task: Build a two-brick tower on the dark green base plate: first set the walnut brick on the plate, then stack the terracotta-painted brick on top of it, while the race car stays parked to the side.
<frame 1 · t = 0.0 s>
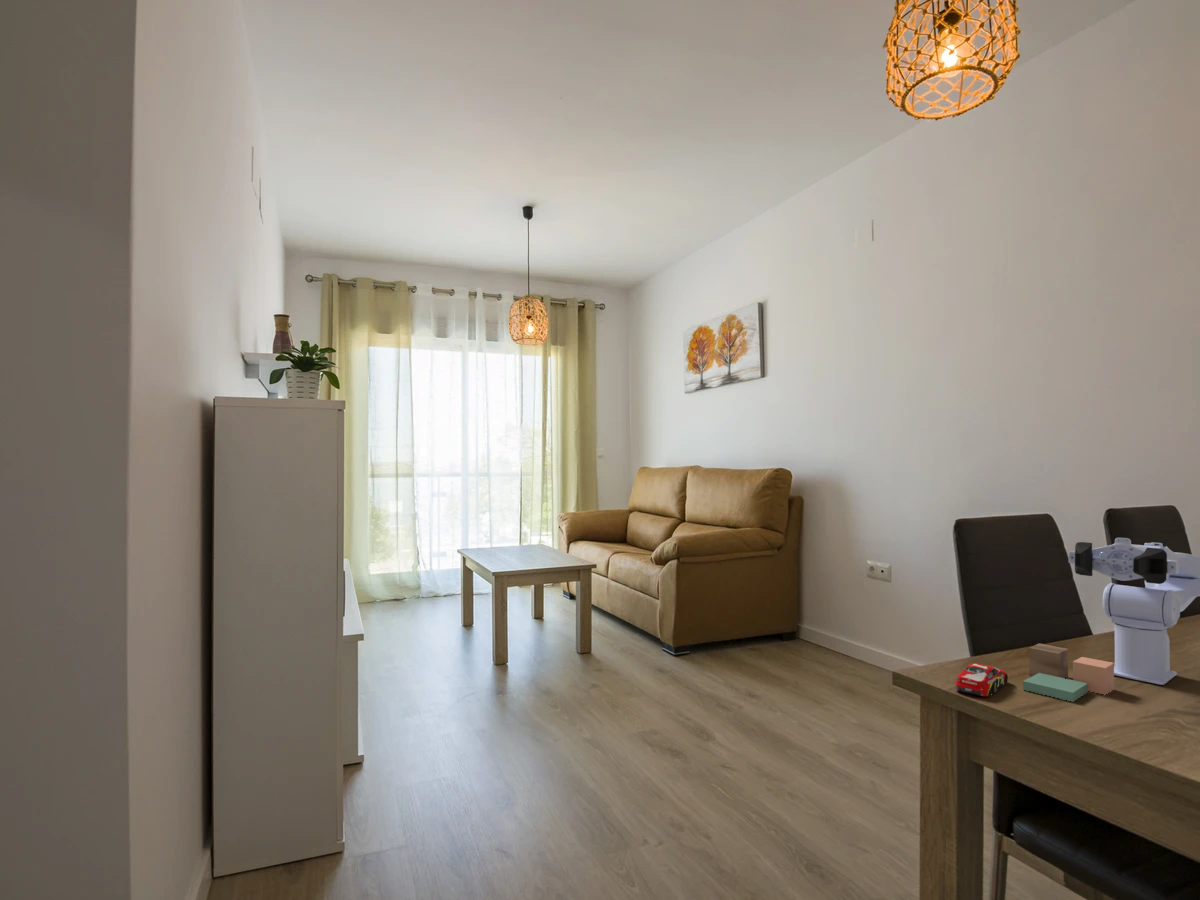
hand: (1105, 562, 108), 22 cm above the table, tool horizontal, fingers open, 7 cm apart
terracotta brick: (1093, 689, 113), on the table
walnut brick: (1048, 676, 119), on the table
base plate: (1055, 691, 111), on the table
race car: (982, 689, 114), on the table
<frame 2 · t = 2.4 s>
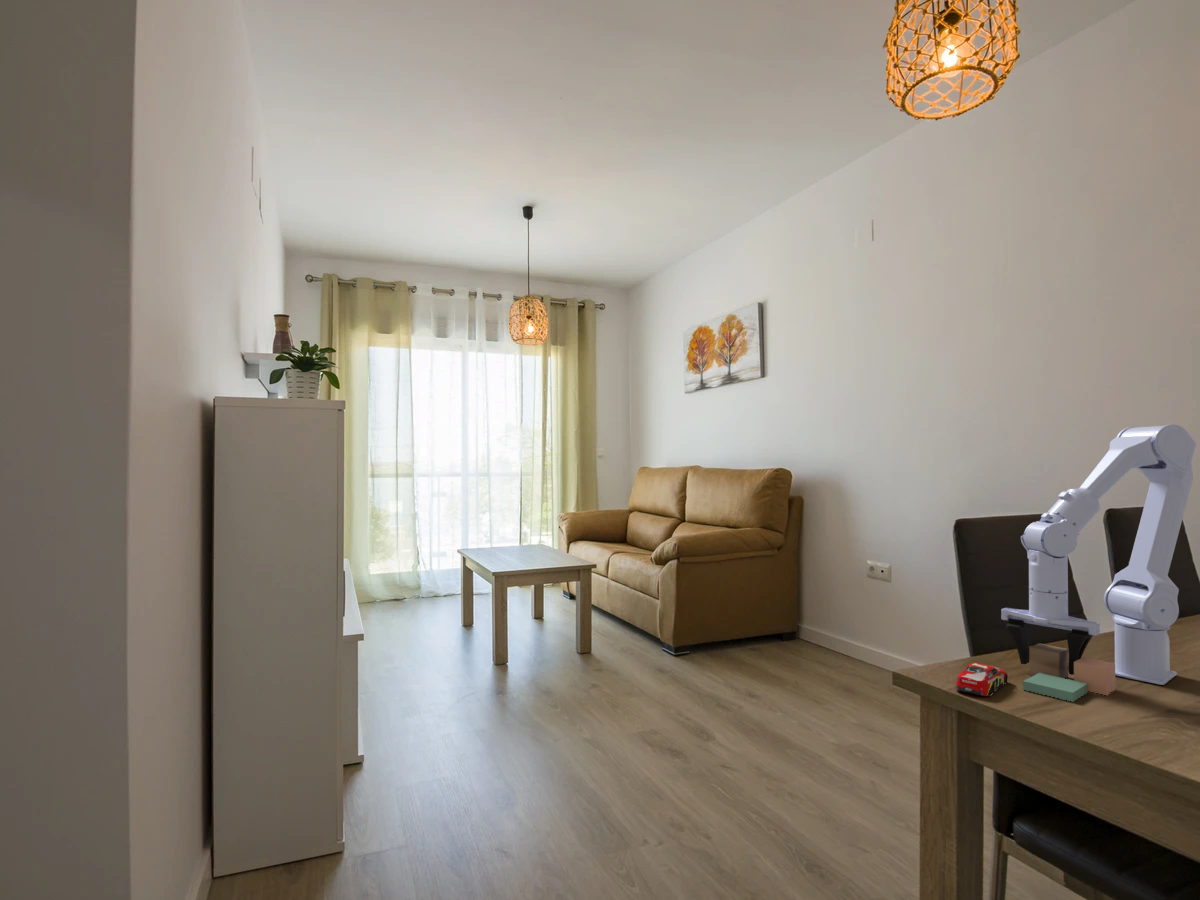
hand: (1048, 668, 119), 1 cm above the table, tool pointing down, fingers open, 7 cm apart
terracotta brick: (1094, 689, 113), on the table, touching gripper
everything else where it was.
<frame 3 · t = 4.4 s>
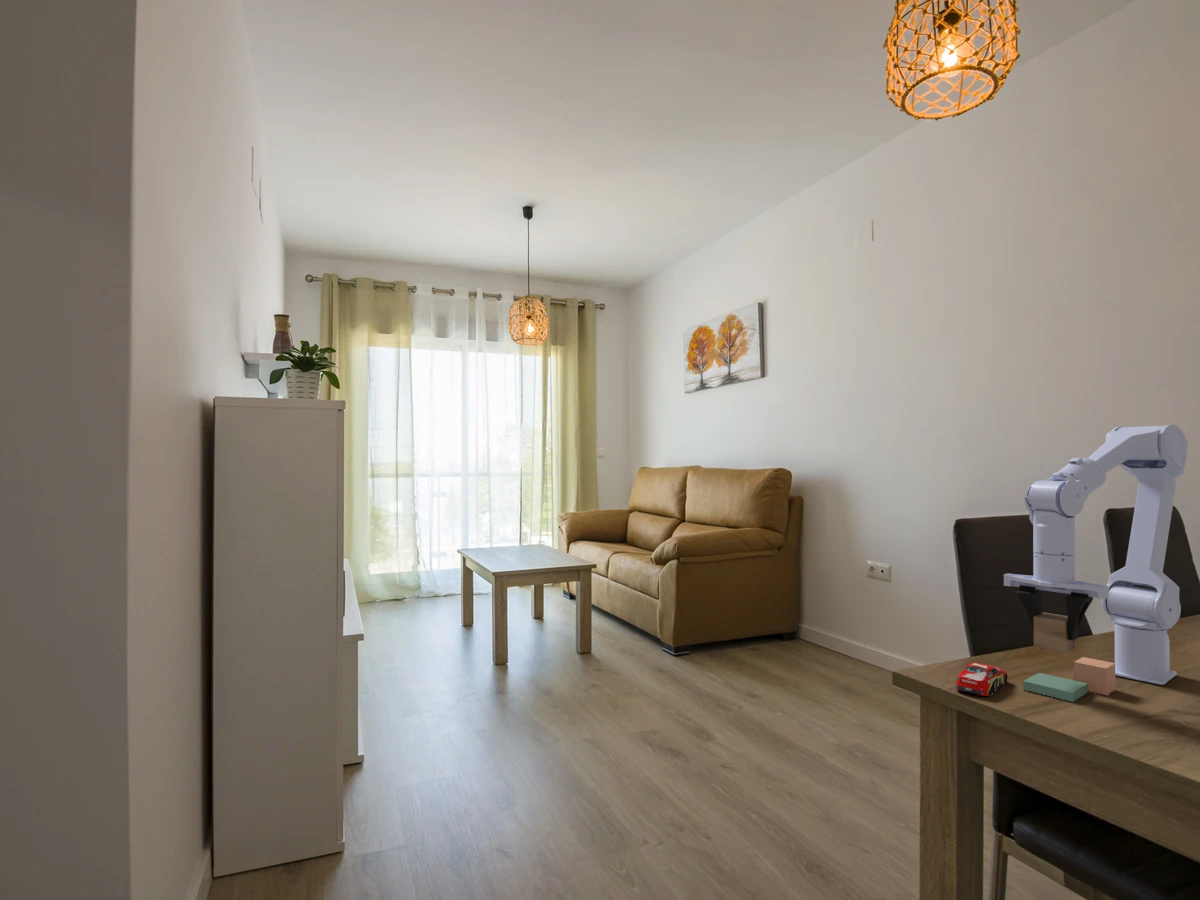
hand: (1054, 635, 112), 9 cm above the table, tool pointing down, fingers closed on walnut brick, 4 cm apart
terracotta brick: (1094, 689, 113), on the table
walnut brick: (1054, 647, 112), point 7 cm above the table, touching gripper
everything else where it was.
when the fingers open (4 cm above the table, at t = 5.8 s): walnut brick stays where it is, resting on base plate.
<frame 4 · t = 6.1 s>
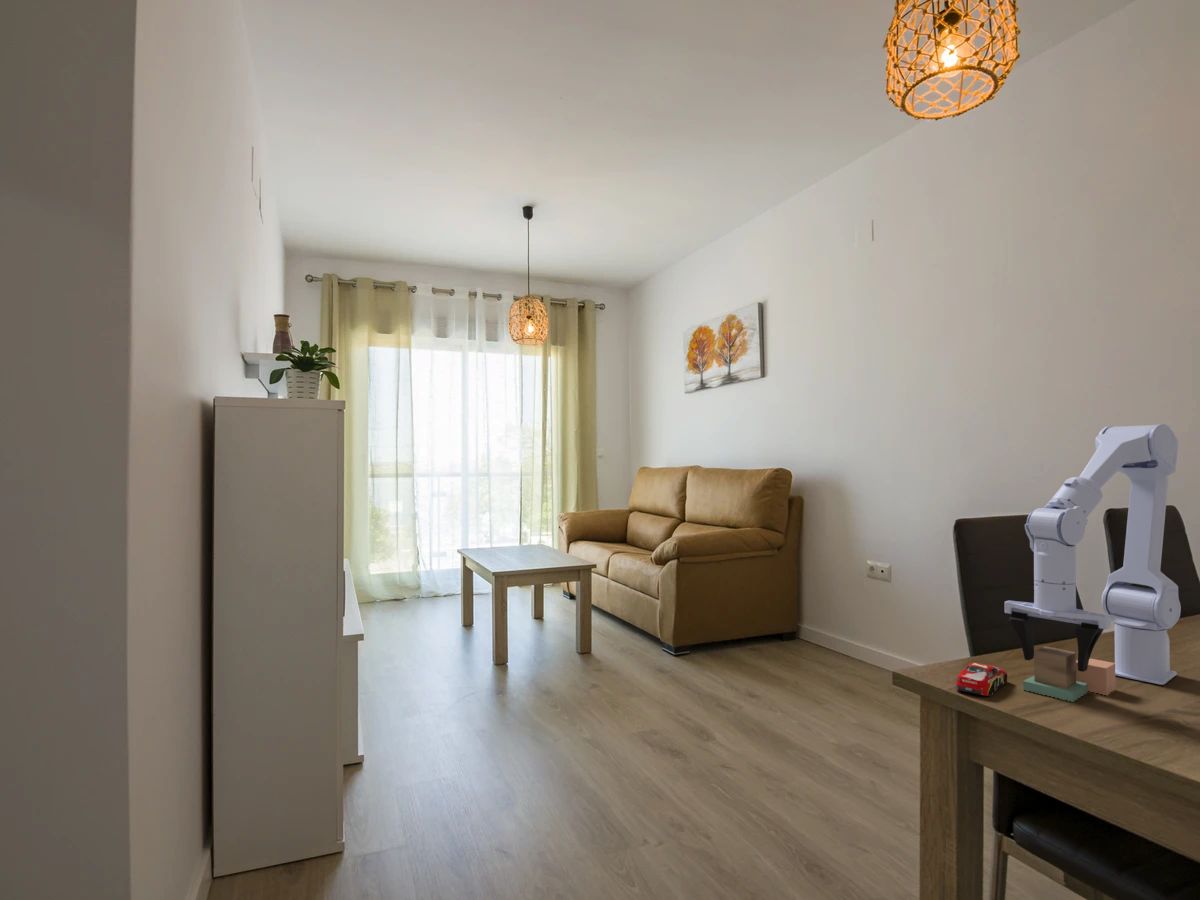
hand: (1055, 664, 111), 4 cm above the table, tool pointing down, fingers open, 7 cm apart
walnut brick: (1055, 682, 111), point 1 cm above the table, touching base plate
everything else where it was.
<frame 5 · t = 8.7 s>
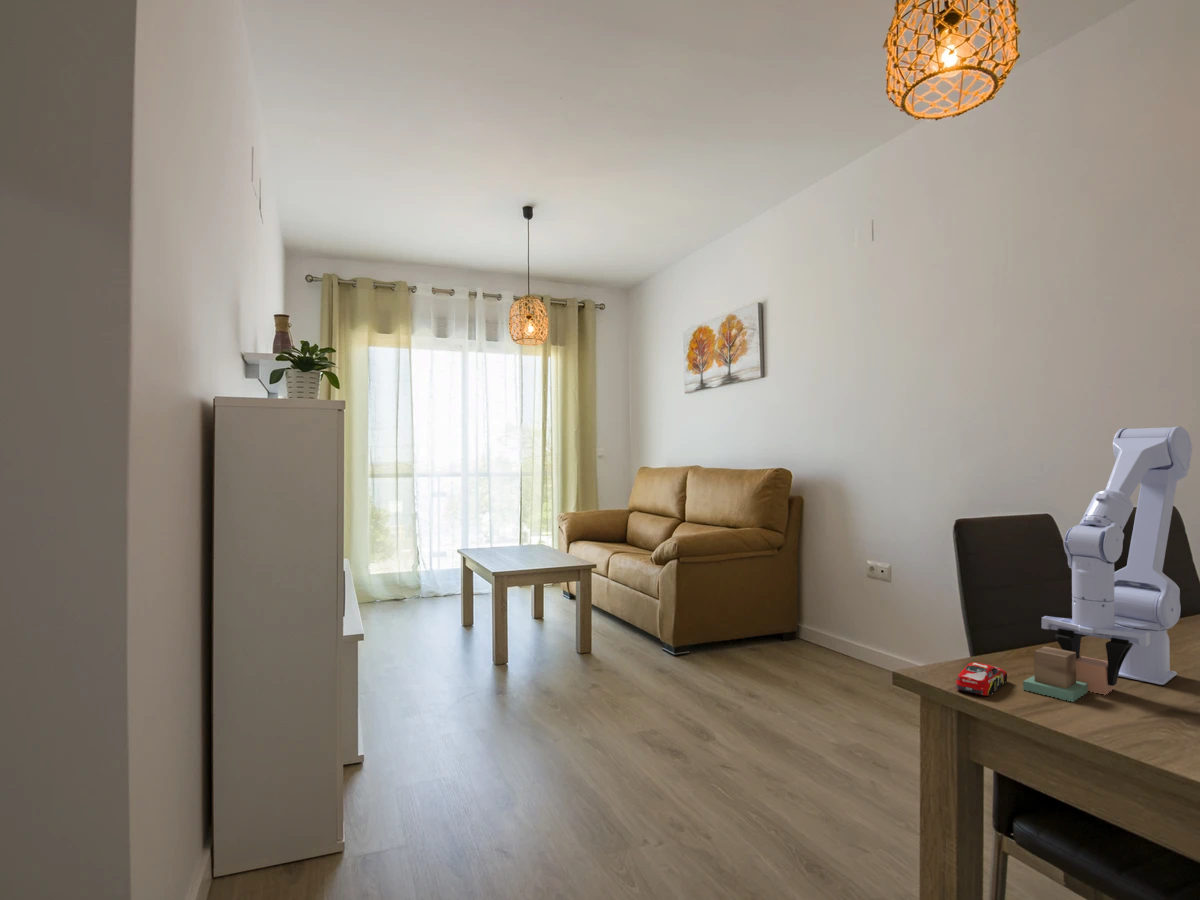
hand: (1093, 680, 113), 1 cm above the table, tool pointing down, fingers closed on terracotta brick, 4 cm apart
terracotta brick: (1093, 688, 113), on the table, touching gripper
everything else where it was.
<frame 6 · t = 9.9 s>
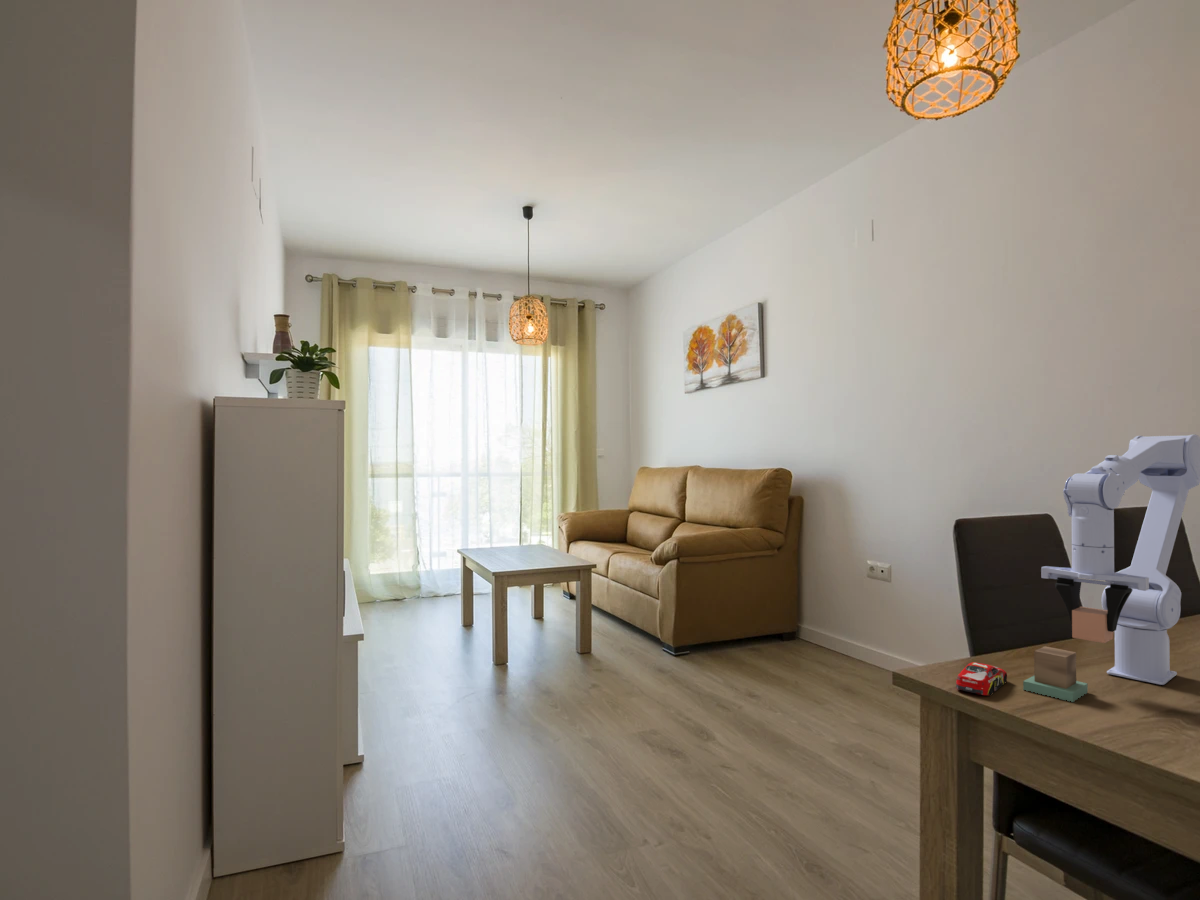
hand: (1093, 627, 113), 10 cm above the table, tool pointing down, fingers closed on terracotta brick, 4 cm apart
terracotta brick: (1092, 637, 113), point 8 cm above the table, touching gripper
everything else where it was.
when the fingers open (9 cm above the table, at t = 11.4 s): terracotta brick drops 1 cm, resting on walnut brick.
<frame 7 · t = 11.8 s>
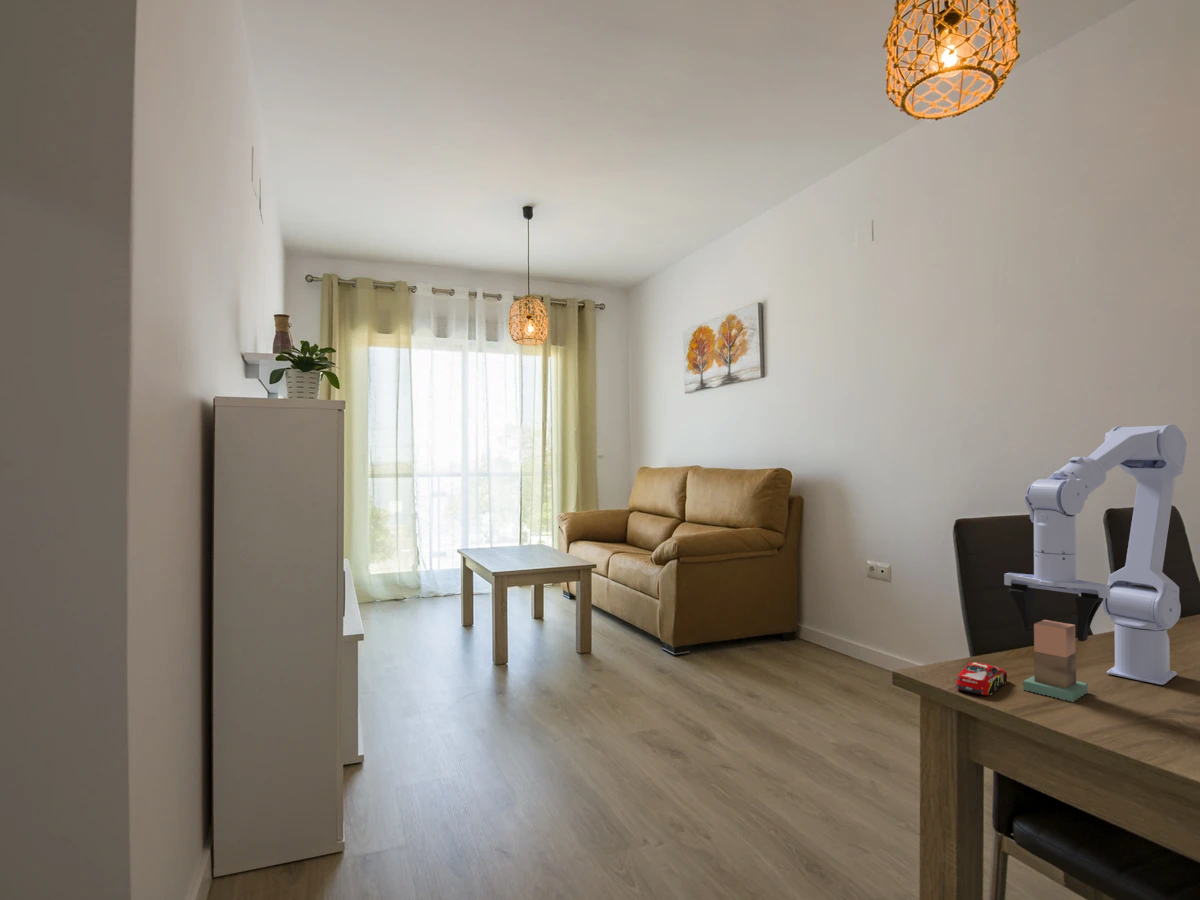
hand: (1055, 635, 111), 9 cm above the table, tool pointing down, fingers open, 7 cm apart
terracotta brick: (1054, 651, 111), point 6 cm above the table, touching walnut brick
walnut brick: (1055, 682, 111), point 1 cm above the table, touching base plate, terracotta brick
everything else where it was.
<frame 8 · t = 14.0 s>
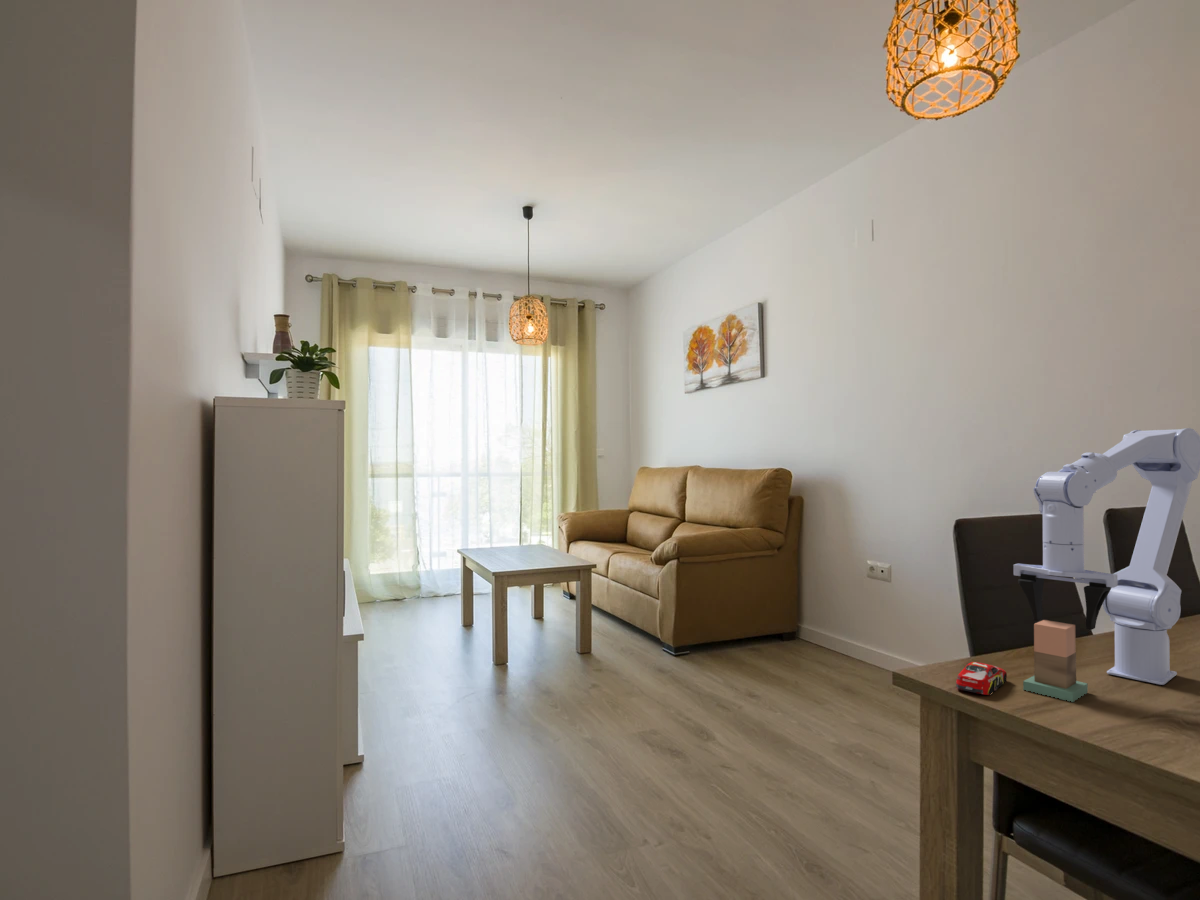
hand: (1063, 624, 114), 10 cm above the table, tool pointing down, fingers open, 7 cm apart
nothing on the table moved.
at the end: walnut brick 0.0 cm off-centre on the base plate, point 1.5 cm above the base plate's base; terracotta brick 0.2 cm off-centre on the walnut brick, point 5.0 cm above the walnut brick's base; terracotta brick tilted 0° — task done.
